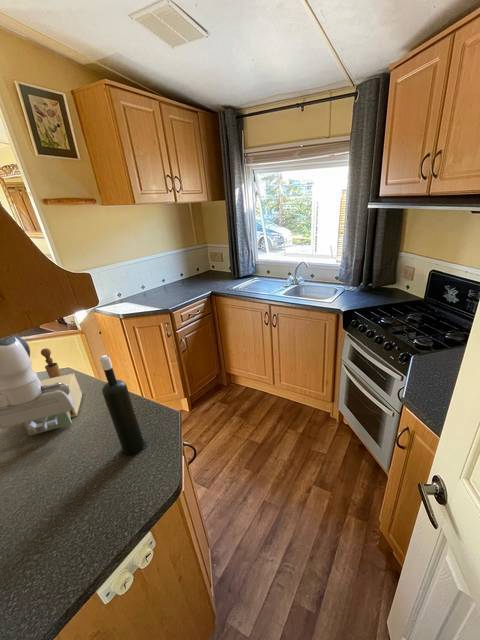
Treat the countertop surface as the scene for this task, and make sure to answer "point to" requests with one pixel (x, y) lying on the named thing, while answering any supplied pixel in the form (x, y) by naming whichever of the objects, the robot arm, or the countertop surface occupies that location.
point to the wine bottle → (121, 410)
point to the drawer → (52, 422)
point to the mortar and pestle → (50, 364)
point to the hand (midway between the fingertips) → (41, 429)
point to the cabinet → (73, 387)
